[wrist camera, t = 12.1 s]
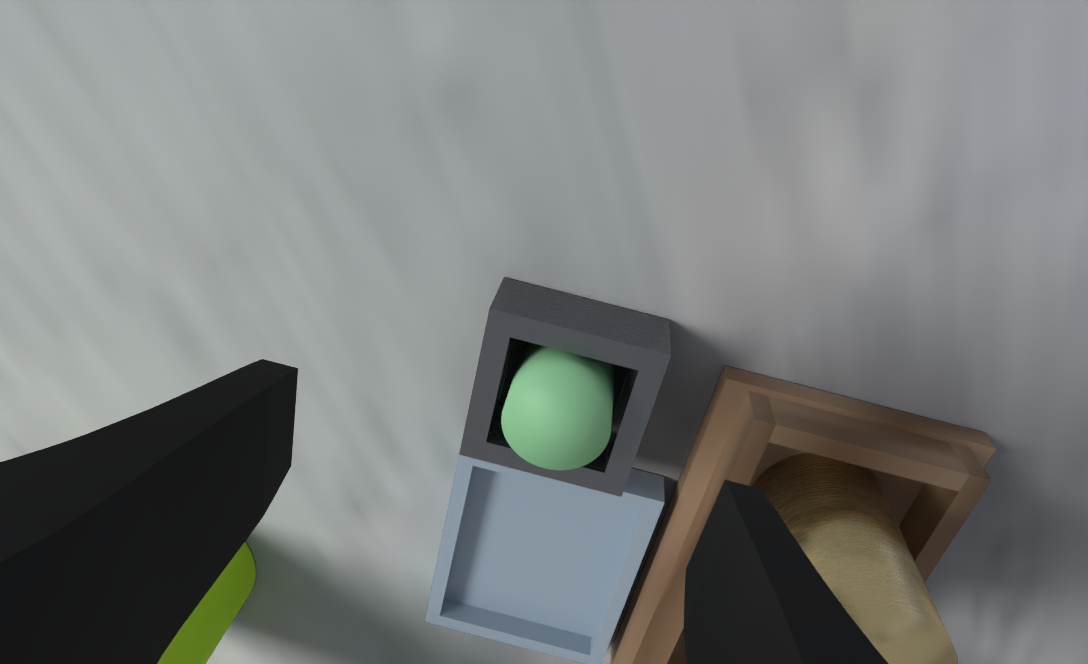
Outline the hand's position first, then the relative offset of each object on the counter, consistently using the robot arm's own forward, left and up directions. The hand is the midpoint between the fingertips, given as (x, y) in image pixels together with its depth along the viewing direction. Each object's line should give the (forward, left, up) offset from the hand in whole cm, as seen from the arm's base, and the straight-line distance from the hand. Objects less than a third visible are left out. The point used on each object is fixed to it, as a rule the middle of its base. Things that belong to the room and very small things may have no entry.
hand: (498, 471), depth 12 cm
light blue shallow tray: (-2, +11, -10) cm, 15 cm away
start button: (-1, +4, -10) cm, 10 cm away
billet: (-10, +6, -9) cm, 14 cm away
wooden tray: (-10, +9, -10) cm, 16 cm away
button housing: (-1, +4, -10) cm, 11 cm away
